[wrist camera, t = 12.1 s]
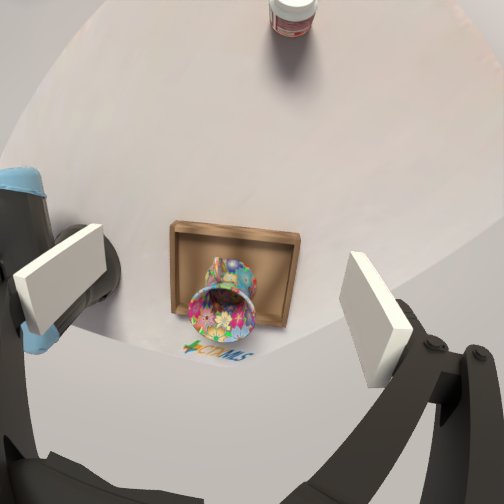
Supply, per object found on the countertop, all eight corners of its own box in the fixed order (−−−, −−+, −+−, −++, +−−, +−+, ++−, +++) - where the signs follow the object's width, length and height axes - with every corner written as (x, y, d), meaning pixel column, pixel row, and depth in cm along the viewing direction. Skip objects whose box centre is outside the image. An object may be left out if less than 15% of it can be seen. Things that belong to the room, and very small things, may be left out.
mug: (261, 303, 52) (259, 341, 42) (208, 305, 53) (195, 343, 43) (254, 235, 48) (249, 264, 38) (196, 241, 49) (177, 269, 39)
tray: (176, 303, 54) (171, 313, 51) (175, 220, 48) (169, 226, 45) (285, 317, 54) (285, 327, 51) (299, 233, 48) (300, 240, 45)
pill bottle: (319, 27, 35) (332, -2, 25) (285, 44, 37) (288, 18, 26) (295, -2, 34) (301, -35, 23) (261, 15, 35) (257, -16, 25)
